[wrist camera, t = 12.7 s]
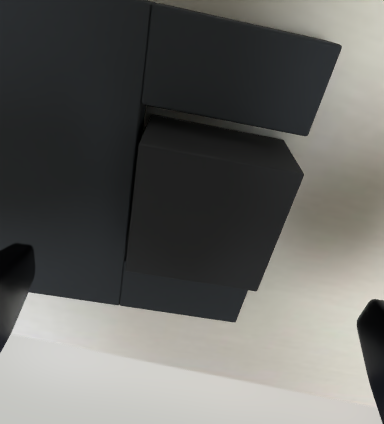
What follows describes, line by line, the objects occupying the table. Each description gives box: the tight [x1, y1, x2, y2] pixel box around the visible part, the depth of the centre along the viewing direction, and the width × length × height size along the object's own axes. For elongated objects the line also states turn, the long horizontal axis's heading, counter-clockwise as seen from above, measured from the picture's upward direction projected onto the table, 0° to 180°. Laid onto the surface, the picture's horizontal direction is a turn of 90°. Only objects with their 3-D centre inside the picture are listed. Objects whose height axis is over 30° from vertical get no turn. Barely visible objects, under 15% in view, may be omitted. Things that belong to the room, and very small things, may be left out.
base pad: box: [0, 0, 342, 322], centre depth 13 cm, size 12×16×2 cm
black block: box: [125, 115, 304, 291], centre depth 12 cm, size 5×5×3 cm
